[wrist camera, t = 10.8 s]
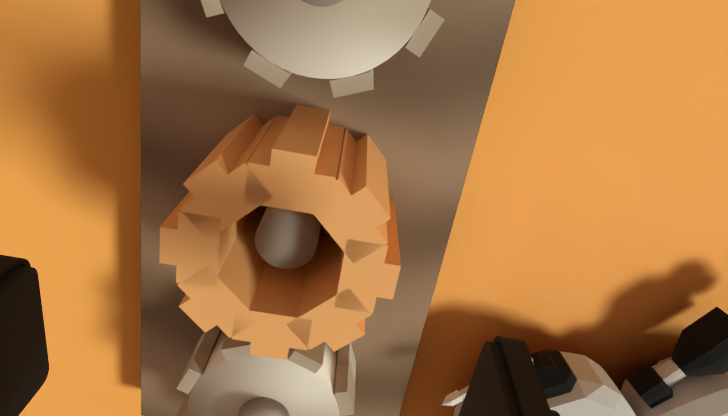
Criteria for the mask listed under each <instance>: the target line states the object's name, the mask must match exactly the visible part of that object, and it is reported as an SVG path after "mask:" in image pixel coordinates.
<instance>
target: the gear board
mask: <svg viewBox="0 0 728 416" xmlns="http://www.w3.org/2000/svg"><path fill="white" fill-rule="evenodd" d="M514 3H515V0H141V415H143V416H399V414H400V411H401V407H402V403H403V400H404V396H405V393H406V389H407V385H408V382H409V378H410V375H411V371H412V368H413V364H414V360H415V357H416V353H417V350H418V346H419V343H420V339H421V335H422V332H423V328H424V325H425V321H426V318H427V314H428V310H429V307H430V303H431V300H432V296H433V293H434V289H435V285H436V282H437V278H438V275H439V271H440V268H441V264H442V260H443V257H444V253H445V250H446V246H447V243H448V239H449V235H450V232H451V228H452V225H453V221H454V218H455V214H456V210H457V207H458V203H459V200H460V196H461V193H462V189H463V185H464V182H465V178H466V175H467V171H468V168H469V164H470V160H471V157H472V153H473V150H474V146H475V143H476V139H477V135H478V132H479V128H480V125H481V121H482V118H483V114H484V110H485V107H486V103H487V100H488V96H489V93H490V89H491V85H492V82H493V78H494V75H495V71H496V68H497V64H498V60H499V57H500V53H501V50H502V46H503V43H504V39H505V35H506V32H507V28H508V25H509V21H510V18H511V14H512V10H513V7H514ZM296 105H302V106H307V107H313V108H319V109H324V110H330V115H329V122H328V124H330V125H336V126H341V127H345V128H344V130H345V129H346V128H347V130H348V131H349V132H350V134H351V135H352V136H353V138H354V139H355V141H358V140H359V139H361V138H362V137H364V136H365V135H367V134H368V135H369V137H370V138H371V139H372V141H373V142H374V144H375V145H376V146H377V148H378V149H379V151H380V152H381V153H382V155H383V156H384V158H385V159H386V166H387V178H388V191H389V197H391V198H394V201H395V211H396V221H397V231H398V241H399V251H400V261H401V268H400V272H399V277H398V281H397V285H396V289H395V293H394V297H393V300H392V299H385V298H379V297H377V298H376V302H375V307H374V311H373V313H372V315H371V316H369V317H367V318H365V335H364V336H362V337H360V338H358V339H356V340H355V341H353V342H351V343H349V344H347V345H346V346H344V347H342V348H340V349H338V350H337V351H335V352H334V351H333V350H332V349H331V348H330V347H329V346H328V345H327V344H326V342H323V343H321V344H319V345H318V346H316V347H314V348H312V349H310V350H309V349H308V348H307V350H301V349H294V348H289V351H288V356H287V360H285V359H278V358H271V357H264V356H258V355H251V354H250V345H251V342H247V341H241V340H234V339H232V337H231V338H229V337H228V336H227V335H226V334H225V333H224V332H223V331H222V330H221V329H220V328H219V327H218V326H215V327H213V328H212V329H210V330H208V331H207V332H204V331H203V330H202V329H201V328H200V327H199V326H198V325H197V324H196V323H195V322H194V321H193V320H192V319H191V318H190V317H189V316H188V315H187V314H186V313H185V312H184V311H183V310H182V309H181V308H180V307H179V305H180V303H181V301H182V300H183V298H184V296H185V293H184V292H183V291H182V290H181V288H180V287H179V286H178V285H177V284H178V283H176V266H175V265H169V264H163V263H159V255H160V226H161V225H162V224H163V223H164V222H165V220H166V219H167V218H168V217H169V216H170V214H171V213H172V212H173V211H174V210H175V208H176V207H177V206H178V205H179V203H180V202H181V201H182V200H183V199H184V197H185V196H186V195H187V194H188V193H189V190H188V189H187V188H186V187H185V186H184V185H183V183H184V182H185V181H186V180H187V179H188V178H189V177H190V175H191V174H192V173H193V172H194V171H195V170H196V169H197V168H198V166H199V165H200V164H201V163H202V162H203V161H204V160H205V159H206V157H207V156H208V155H209V154H210V153H211V152H212V151H213V149H214V148H215V147H216V146H217V145H218V144H219V143H220V142H221V140H222V139H223V138H224V137H225V136H226V135H227V134H228V133H229V132H230V131H231V130H233V129H234V128H235V127H237V126H238V125H240V124H241V123H242V122H244V121H245V120H246V119H248V118H249V117H250V116H252V115H253V114H255V116H256V117H257V118H258V119H259V121H260V122H261V123H262V124H263V125H264V124H265V123H267V122H268V121H269V120H271V119H272V118H274V117H275V116H278V115H279V116H285V117H290V115H291V114H292V112H293V110H294V108H295V107H296ZM255 210H256V212H257V213H258V214H259V215H260V216H261V217H262V219H261V222H260V224H259V226H258V228H257V231H256V234H255V246H256V249H257V251H258V253H259V255H260V256H261V257H262V258H263V259H264V260H265V261H266V262H267V263H269V264H271V265H272V266H275V267H278V268H282V269H295V268H298V267H301V266H303V265H305V264H306V263H308V262H309V261H310V260H311V259H312V258H313V256H314V254H315V252H316V249H317V244H318V239H319V238H320V237H321V236H323V235H324V234H326V233H328V231H327V230H326V229H325V228H324V227H323V225H322V224H321V223H320V222H319V220H318V219H317V218H316V217H315V215H314V214H310V213H304V212H298V211H292V210H286V209H280V208H274V207H268V206H261V205H260V206H259V207H257V208H256V209H255Z"/></svg>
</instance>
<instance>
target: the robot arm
mask: <svg viewBox="0 0 728 416" xmlns="http://www.w3.org/2000/svg"><path fill="white" fill-rule="evenodd" d="M48 371H49V362H48V354H47V345H46V337H45V329H44V321H43V313H42V305H41V297H40V289H39V280H38V273H37V270H36V269H35V268H33V267H31V266H30V263H29V262H28V260H26V259H23V258H16V257H10V256H4V255H0V416H18V415H19V414H20V413H21V412H22V410H23V409H24V408H25V407H26V405H27V404H28V403H29V402H30V400H31V399H32V398H33V396H34V395H35V394H36V393H37V391H38V390H39V389H40V388H41V386H42V385H43V383H44V382H45V380H46V378H47V375H48ZM458 416H560V414H559V413H558V412H557V411H555V410H550V407H549V404H548V402H547V399H546V396H545V394H544V391H543V388H542V386H541V383H540V380H539V377H538V375H537V372H536V369H535V367H534V364H533V361H532V358H531V356H530V353H529V350H528V348H527V345H526V343H525V342H524V341H523V340H517V339H511V338H505V337H499V336H498V337H496V338H495V339H494V340H493V342H486V343H485V344H484V346H483V349H482V352H481V354H480V357H479V360H478V363H477V365H476V368H475V371H474V374H473V376H472V379H471V382H470V385H469V388H468V390H467V393H466V396H465V399H464V401H463V404H462V407H461V410H460V412H459V415H458Z"/></svg>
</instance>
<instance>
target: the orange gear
mask: <svg viewBox="0 0 728 416" xmlns="http://www.w3.org/2000/svg"><path fill="white" fill-rule="evenodd" d="M329 115H330V110H324V109H319V108H313V107H307V106H302V105H296V107H295V108H294V110H293V112H292V114H291V115H290V117H285V116H279V115H278V116H275V117H274V118H272V119H271V120H269V121H268V122H267V123H265V124H264V125H263V124H262V123H261V122H260V121H259V119H258V118H257V117H256V116H255V114H253V115H252V116H250V117H249V118H248V119H246V120H245V121H244V122H242V123H241V124H240V125H238V126H237V127H235V128H234V129H233V130H231V131H230V132H229V133H228V134H227V135H226V136H225V137H224V138H223V139H222V140H221V142H220V143H219V144H218V145H217V146H216V147H215V148H214V149H213V151H212V152H211V153H210V154H209V155H208V156H207V157H206V159H205V160H204V161H203V162H202V163H201V164H200V165H199V166H198V168H197V169H196V170H195V171H194V172H193V173H192V174H191V175H190V177H189V178H188V179H187V180H186V181H185V182H184V183H183V185H184V186H185V187H186V188H187V189H188V190H189V193H188V194H187V195H186V196H185V197H184V199H183V200H182V201H181V202H180V203H179V205H178V206H177V207H176V208H175V210H174V211H173V212H172V213H171V214H170V216H169V217H168V218H167V219H166V220H165V222H164V223H163V224H162V225H161V226H160V255H159V263H163V264H169V265H175V266H176V283H178V284H177V285H178V286H179V287H180V288H181V290H182V291H183V292H184V293H185V296H184V298H183V300H182V301H181V303H180V305H179V307H180V308H181V309H182V310H183V311H184V312H185V313H186V314H187V315H188V316H189V317H190V318H191V319H192V320H193V321H194V322H195V323H196V324H197V325H198V326H199V327H200V328H201V329H202V330H203V331H204V332H207V331H208V330H210V329H212V328H213V327H215V326H218V327H219V328H220V329H221V330H222V331H223V332H224V333H225V334H226V335H227V336H228V337H229V338H231V337H232V339H234V340H241V341H247V342H251V345H250V354H251V355H258V356H264V357H271V358H278V359H285V360H287V356H288V351H289V348H294V349H301V350H307V348H308V349H309V350H310V349H312V348H314V347H316V346H318V345H319V344H321V343H323V342H326V344H327V345H328V346H329V347H330V348H331V349H332V350H333V351H334V352H335V351H337V350H338V349H340V348H342V347H344V346H346V345H347V344H349V343H351V342H353V341H355V340H356V339H358V338H360V337H362V336H364V335H365V318H367V317H369V316H371V315H372V313H373V311H374V307H375V302H376V298H377V297H379V298H385V299H392V300H393V297H394V293H395V289H396V285H397V281H398V277H399V272H400V268H401V261H400V251H399V241H398V231H397V221H396V211H395V201H394V198H391V197H389V191H388V178H387V166H386V159H385V158H384V156H383V155H382V153H381V152H380V151H379V149H378V148H377V146H376V145H375V144H374V142H373V141H372V139H371V138H370V137H369V135H368V134H367V135H365V136H364V137H362V138H361V139H359V140H358V141H355V139H354V138H353V136H352V135H351V134H350V132H349V131H348V130H347V128H346V129H345V130H344V128H345V127H341V126H336V125H330V124H328V122H329ZM260 205H261V206H268V207H274V208H280V209H286V210H292V211H298V212H304V213H310V214H314V215H315V217H316V218H317V219H318V220H319V222H320V223H321V224H322V225H323V227H324V228H325V229H326V230H327V231H328V233H326V234H324V235H323V236H321V237H320V238H319V239H318V244H317V249H316V252H315V254H314V256H313V258H312V259H311V260H310V261H309V262H308V263H306V264H305V265H303V266H301V267H298V268H295V269H282V268H278V267H275V266H272V265H271V264H269V263H267V262H266V261H265V260H264V259H263V258H262V257H261V256H260V255H259V253H258V251H257V249H256V246H255V234H256V231H257V228H258V226H259V224H260V222H261V219H262V217H261V216H260V215H259V214H258V213H257V212H256V210H255V209H256V208H257V207H259V206H260Z"/></svg>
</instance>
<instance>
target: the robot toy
mask: <svg viewBox="0 0 728 416" xmlns="http://www.w3.org/2000/svg"><path fill="white" fill-rule="evenodd" d="M530 356H531V358H532V361H533V364H534V367H535V369H536V372H537V375H538V377H539V380H540V383H541V386H542V388H543V391H544V394H545V396H546V399H547V402H548V404H549V407H550V410H555V411H557V412H558V413H559V414H560V416H728V315H727V314H726V313H725V312H723V311H722V310H721V309H719V308H718V307H716V308H714V309H713V310H711V311H710V312H708V313H707V314H705V315H704V316H703V317H701V318H700V319H698V320H697V321H695V322H694V323H692V324H691V325H689V326H688V327H687V328H685V329H684V330H682V333H681V335H680V337H679V339H678V342H677V344H676V346H675V349H674V352H673V355H672V356H671V357H669V358H666V359H664V360H661V361H659V362H657V363H658V364H656V365H653V366H648V365H645V364H644V365H643V366H641V367H640V368H639V369H637V370H636V371H634V372H633V373H631V374H630V375H628V376H627V377H626V379H625V381H624V383H623V386H622V388H621V390H620V391H619V390H618V388H617V387H616V385H615V384H614V382H613V381H612V380H611V378H610V377H609V375H608V374H607V373H606V371H605V370H604V369H603V368H602V367H601V366H600V365H599V364H597V363H596V362H594V361H592V360H591V359H589V358H588V357H586V356H585V355H581V354H574V353H568V352H561V351H559V350H544V351H541V352H537V353H534V354H530ZM468 388H469V386H467V387H465V388H463V389H461V390H459V391H458V390H456V391H454V392H452V393H450V394H448V395H446V397H445V399H444V401H443V403H442V405H446V406H454V405H456V404H457V405H456V407H455V411H454V416H458V415H459V412H460V410H461V407H462V404H463V401H464V399H465V396H466V393H467V390H468Z"/></svg>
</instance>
